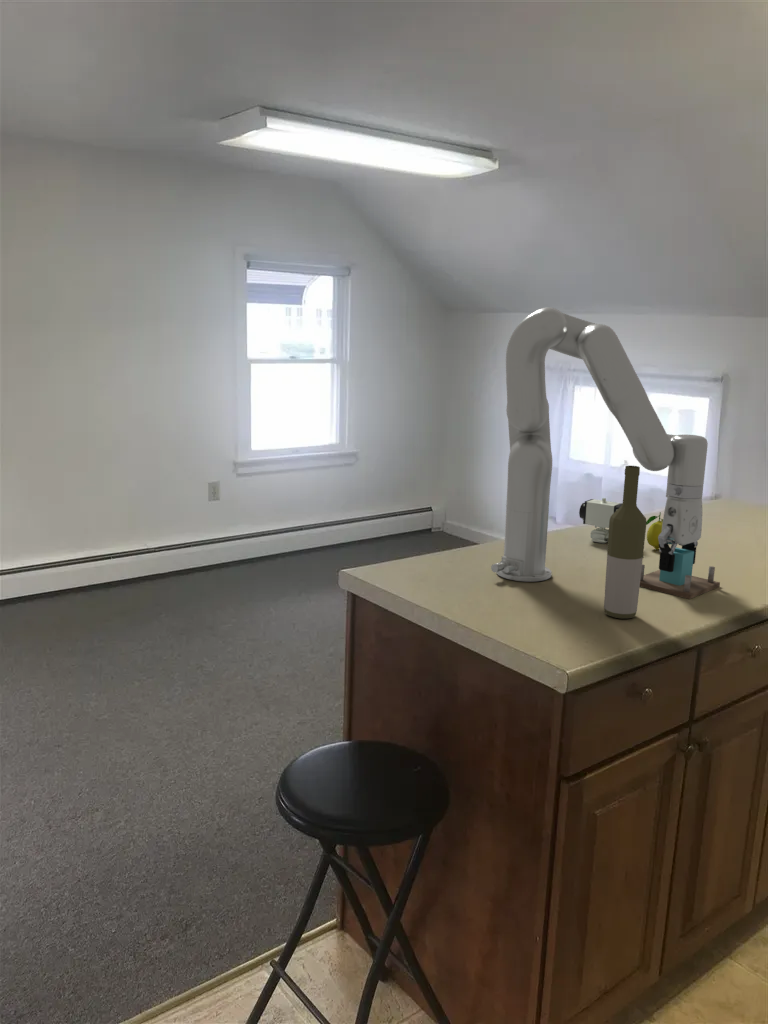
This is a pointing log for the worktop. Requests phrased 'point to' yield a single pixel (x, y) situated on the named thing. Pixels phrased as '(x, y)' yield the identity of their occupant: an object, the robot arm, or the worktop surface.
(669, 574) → the hollow square block
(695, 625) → the worktop surface
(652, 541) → the lemon
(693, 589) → the pegboard
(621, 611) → the bottle
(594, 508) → the pneumatic valve
